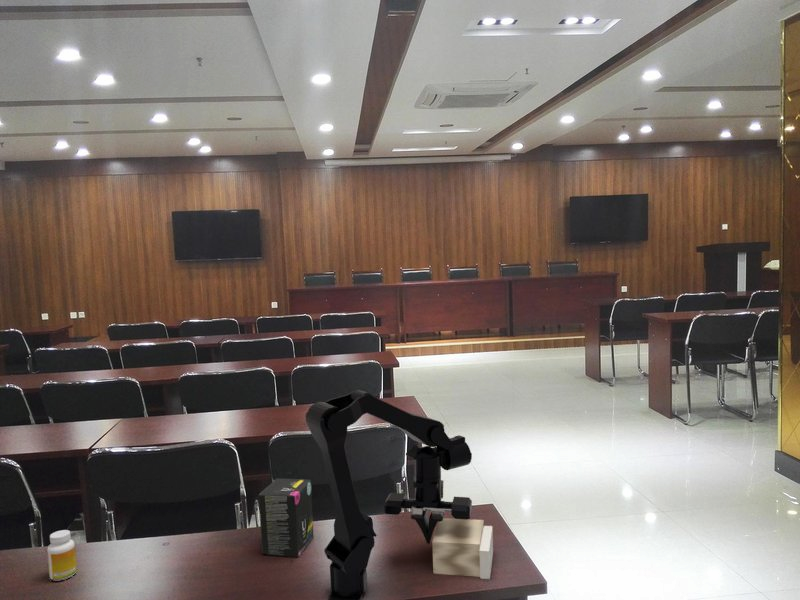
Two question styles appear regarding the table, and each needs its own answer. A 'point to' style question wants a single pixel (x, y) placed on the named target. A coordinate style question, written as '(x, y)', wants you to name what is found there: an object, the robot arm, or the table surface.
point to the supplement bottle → (61, 555)
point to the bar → (486, 552)
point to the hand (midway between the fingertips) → (428, 543)
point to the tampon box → (286, 517)
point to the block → (457, 547)
